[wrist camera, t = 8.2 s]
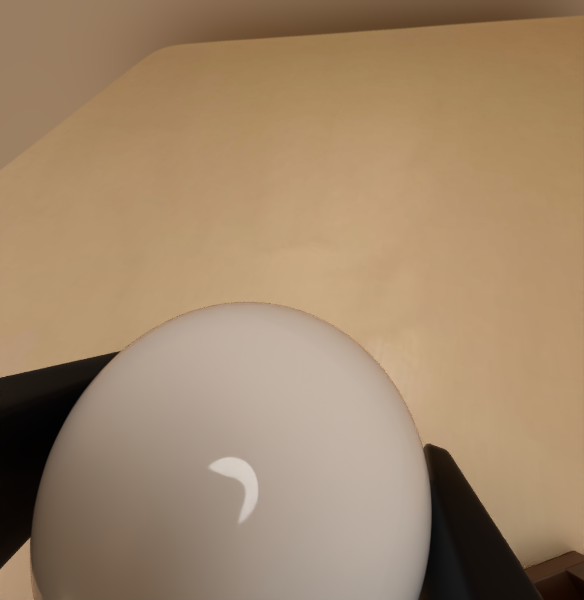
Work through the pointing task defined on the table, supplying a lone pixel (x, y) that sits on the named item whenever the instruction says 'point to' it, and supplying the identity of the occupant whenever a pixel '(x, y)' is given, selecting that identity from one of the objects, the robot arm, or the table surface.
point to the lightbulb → (235, 470)
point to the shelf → (560, 577)
